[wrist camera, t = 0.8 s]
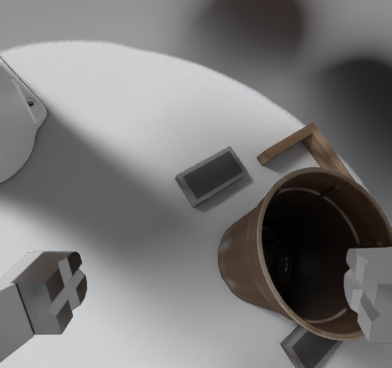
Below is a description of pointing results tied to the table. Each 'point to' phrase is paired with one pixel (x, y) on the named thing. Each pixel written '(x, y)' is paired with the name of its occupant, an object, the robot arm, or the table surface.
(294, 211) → the plant pot
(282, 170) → the table surface
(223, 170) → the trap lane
